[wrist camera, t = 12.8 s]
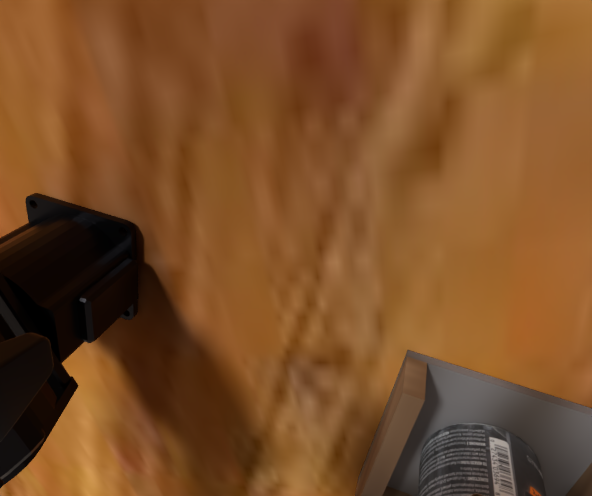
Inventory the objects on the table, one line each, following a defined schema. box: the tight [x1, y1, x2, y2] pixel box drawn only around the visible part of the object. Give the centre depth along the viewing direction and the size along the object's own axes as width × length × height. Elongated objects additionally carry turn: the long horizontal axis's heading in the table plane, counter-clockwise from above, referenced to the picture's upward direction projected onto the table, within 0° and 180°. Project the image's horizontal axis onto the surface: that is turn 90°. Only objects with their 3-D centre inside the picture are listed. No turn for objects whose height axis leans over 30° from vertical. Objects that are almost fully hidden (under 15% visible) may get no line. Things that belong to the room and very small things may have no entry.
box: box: [355, 350, 592, 496], centre depth 24 cm, size 11×11×3 cm
